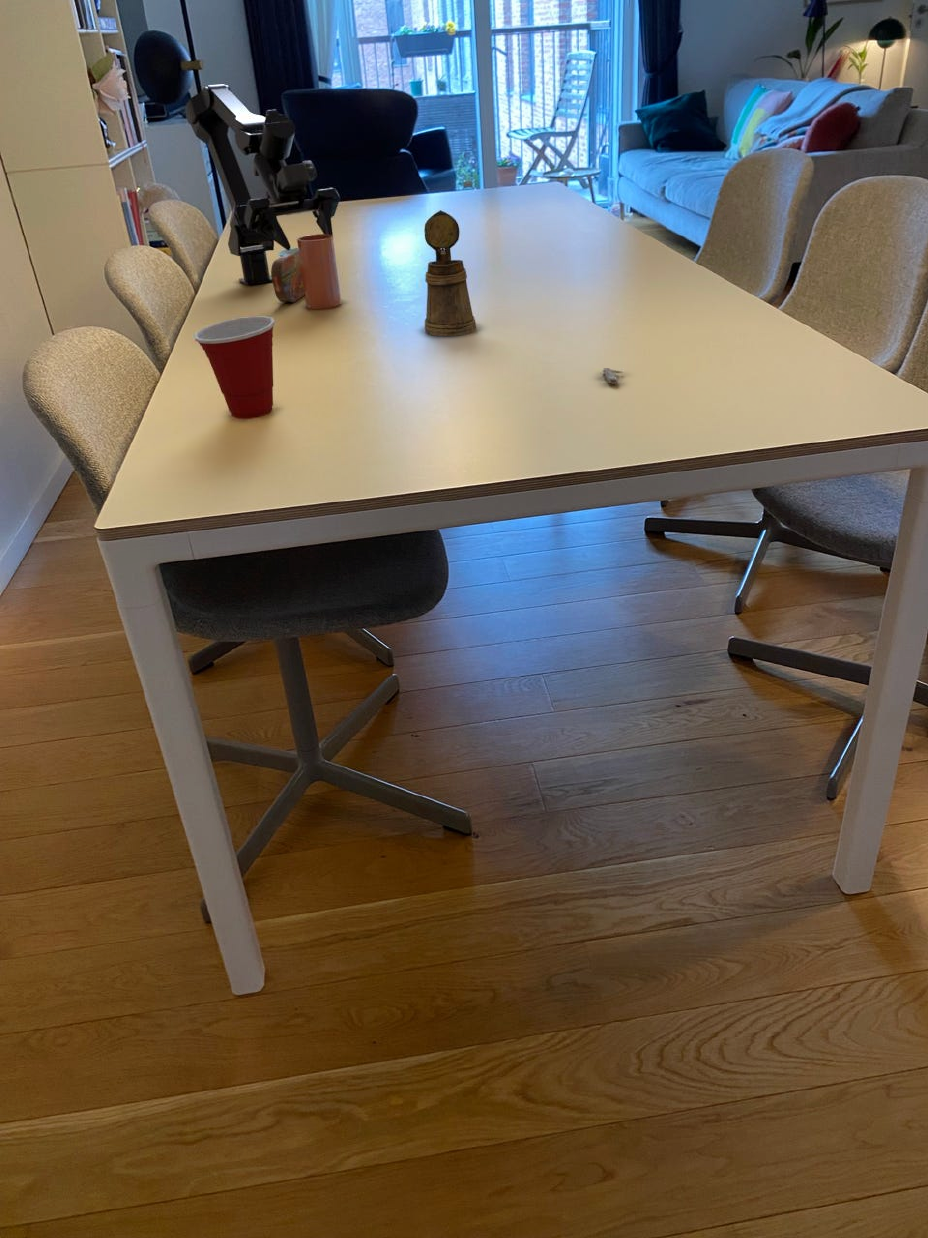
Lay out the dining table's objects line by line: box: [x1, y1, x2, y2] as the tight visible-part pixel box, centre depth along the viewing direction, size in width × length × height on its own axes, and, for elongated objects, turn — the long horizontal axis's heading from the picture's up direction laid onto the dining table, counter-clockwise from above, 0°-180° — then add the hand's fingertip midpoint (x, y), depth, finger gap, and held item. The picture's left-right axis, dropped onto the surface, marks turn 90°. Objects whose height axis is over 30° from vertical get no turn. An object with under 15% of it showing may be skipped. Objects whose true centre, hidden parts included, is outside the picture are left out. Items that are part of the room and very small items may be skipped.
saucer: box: [277, 247, 298, 258], centre depth 219 cm, size 12×12×2 cm
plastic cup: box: [193, 315, 275, 420], centre depth 123 cm, size 11×11×12 cm
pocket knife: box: [602, 367, 623, 384], centre depth 129 cm, size 6×1×3 cm
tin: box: [270, 251, 305, 303], centre depth 184 cm, size 15×3×8 cm, turn 168°
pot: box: [296, 233, 342, 310], centre depth 176 cm, size 7×7×12 cm
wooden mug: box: [423, 209, 477, 337], centre depth 154 cm, size 9×14×18 cm, turn 4°
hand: (310, 244), depth 175 cm, fingers open, 9 cm apart
